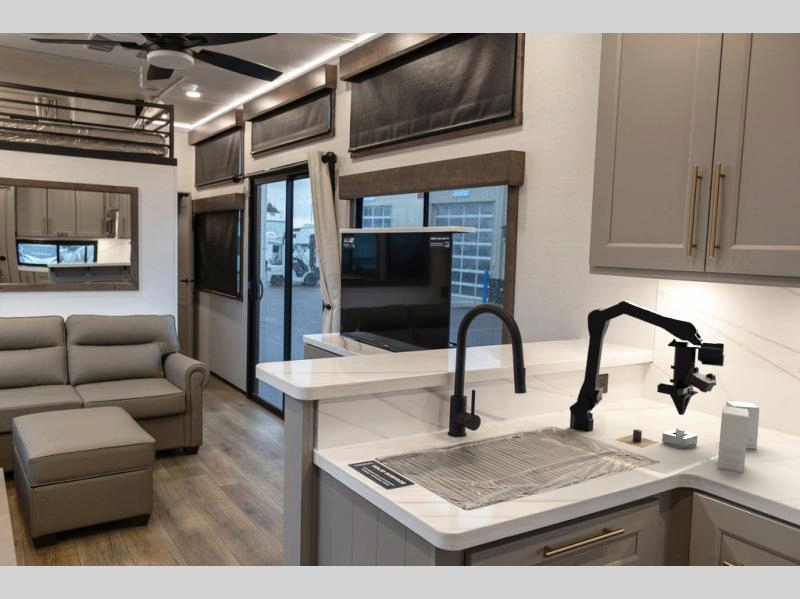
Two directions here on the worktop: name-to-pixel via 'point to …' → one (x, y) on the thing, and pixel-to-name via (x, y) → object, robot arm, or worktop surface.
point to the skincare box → (733, 438)
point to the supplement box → (753, 421)
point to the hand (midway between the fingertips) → (681, 414)
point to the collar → (679, 439)
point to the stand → (637, 439)
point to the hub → (681, 433)
